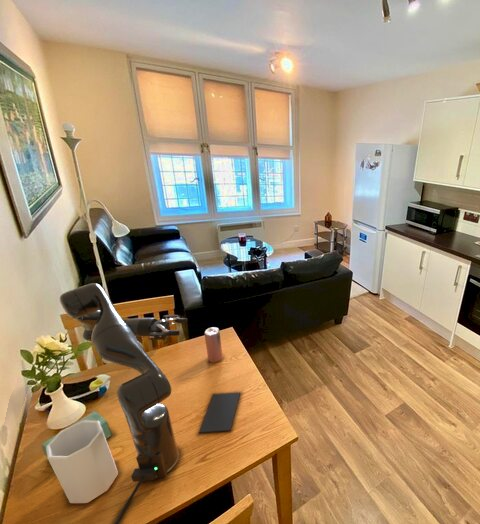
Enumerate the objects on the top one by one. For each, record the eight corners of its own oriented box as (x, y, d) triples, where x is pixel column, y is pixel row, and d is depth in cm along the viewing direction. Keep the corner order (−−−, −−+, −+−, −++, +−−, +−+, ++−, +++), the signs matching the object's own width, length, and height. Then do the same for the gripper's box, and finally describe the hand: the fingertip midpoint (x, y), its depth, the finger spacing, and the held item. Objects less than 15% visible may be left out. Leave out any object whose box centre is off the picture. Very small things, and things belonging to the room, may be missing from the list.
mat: (230, 430, 99) (230, 429, 98) (199, 433, 97) (199, 432, 97) (240, 393, 113) (240, 392, 113) (213, 395, 112) (213, 394, 111)
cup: (113, 494, 79) (95, 449, 72) (60, 513, 74) (35, 467, 67) (122, 456, 88) (107, 413, 81) (75, 471, 84) (55, 427, 77)
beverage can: (217, 364, 127) (213, 336, 121) (205, 361, 128) (201, 333, 122) (225, 355, 132) (222, 328, 126) (213, 352, 133) (210, 325, 127)
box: (47, 460, 86) (39, 443, 83) (100, 425, 97) (95, 409, 94) (59, 473, 83) (51, 456, 80) (113, 435, 94) (107, 419, 91)
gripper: (129, 330, 111) (174, 329, 114) (148, 310, 124) (188, 309, 127) (133, 345, 114) (177, 344, 117) (151, 324, 127) (190, 323, 129)
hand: (183, 326), depth 122 cm, fingers open, 8 cm apart
